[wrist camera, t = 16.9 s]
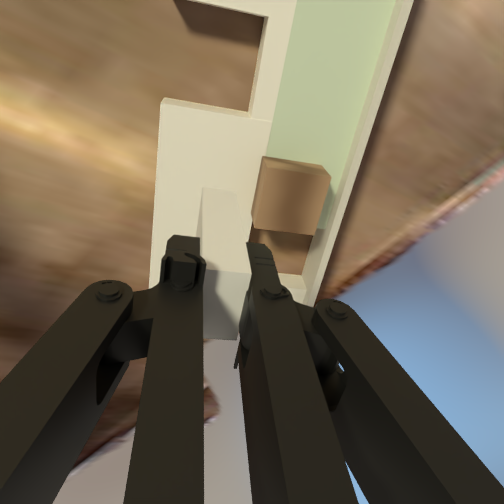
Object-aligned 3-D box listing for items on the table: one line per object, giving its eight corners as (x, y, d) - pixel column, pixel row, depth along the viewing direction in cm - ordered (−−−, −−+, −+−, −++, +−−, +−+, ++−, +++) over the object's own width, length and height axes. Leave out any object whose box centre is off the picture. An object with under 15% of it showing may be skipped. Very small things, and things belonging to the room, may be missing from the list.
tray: (149, 309, 48) (144, 334, 45) (179, -128, 28) (174, -152, 25) (293, 321, 52) (300, 345, 48) (410, -64, 32) (438, -76, 28)
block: (250, 212, 40) (254, 228, 37) (262, 155, 37) (267, 167, 34) (306, 219, 41) (314, 235, 38) (321, 165, 38) (331, 177, 35)
